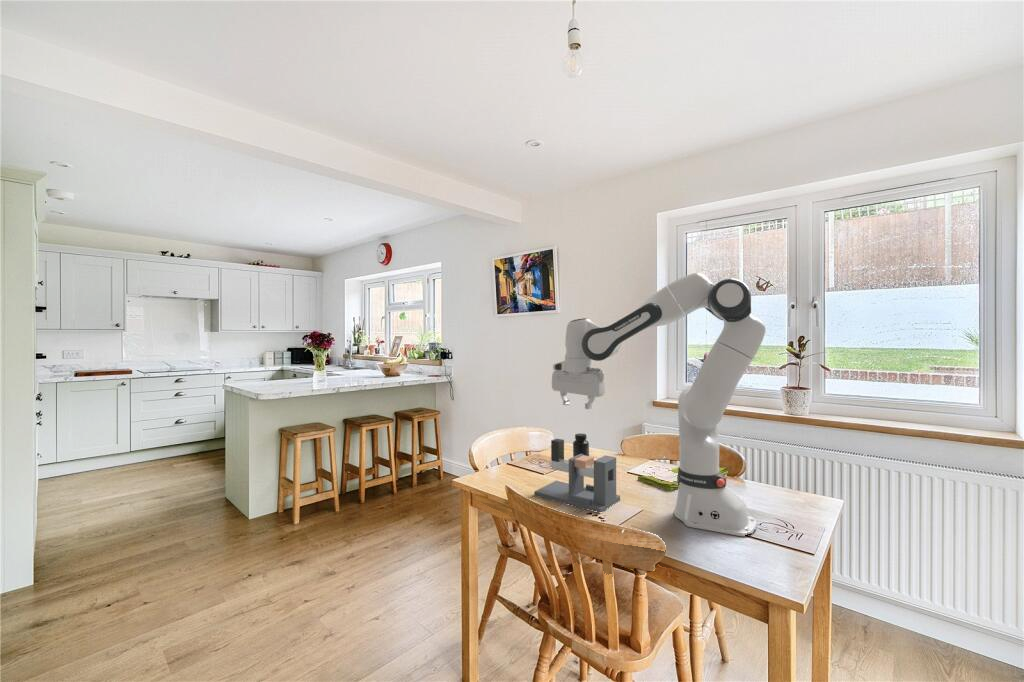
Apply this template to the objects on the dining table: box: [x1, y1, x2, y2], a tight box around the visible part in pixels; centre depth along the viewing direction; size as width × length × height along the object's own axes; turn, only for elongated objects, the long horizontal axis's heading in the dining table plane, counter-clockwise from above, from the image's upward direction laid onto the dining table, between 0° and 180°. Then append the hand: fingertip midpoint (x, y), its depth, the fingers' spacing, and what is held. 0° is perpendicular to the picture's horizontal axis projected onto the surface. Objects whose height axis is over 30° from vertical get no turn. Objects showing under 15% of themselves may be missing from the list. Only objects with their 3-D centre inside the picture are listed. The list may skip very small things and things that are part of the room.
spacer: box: [574, 455, 595, 469], centre depth 149 cm, size 4×6×2 cm, turn 142°
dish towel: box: [637, 466, 729, 492], centre depth 172 cm, size 15×36×3 cm, turn 123°
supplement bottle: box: [572, 433, 590, 457], centre depth 192 cm, size 7×7×12 cm
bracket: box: [534, 454, 621, 513], centre depth 151 cm, size 25×14×15 cm, turn 52°
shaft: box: [550, 438, 594, 479], centre depth 151 cm, size 19×4×10 cm, turn 52°
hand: (576, 406), depth 152 cm, fingers open, 8 cm apart
